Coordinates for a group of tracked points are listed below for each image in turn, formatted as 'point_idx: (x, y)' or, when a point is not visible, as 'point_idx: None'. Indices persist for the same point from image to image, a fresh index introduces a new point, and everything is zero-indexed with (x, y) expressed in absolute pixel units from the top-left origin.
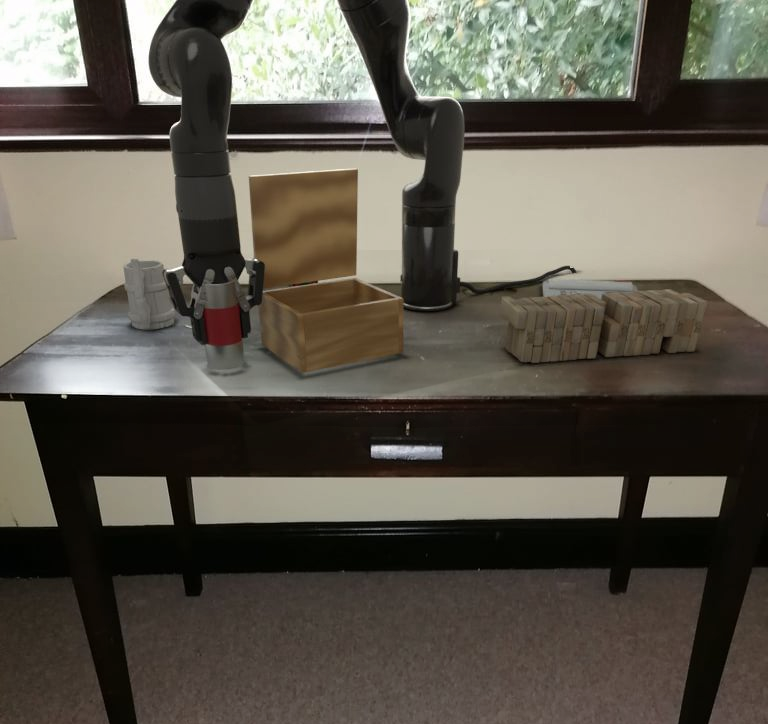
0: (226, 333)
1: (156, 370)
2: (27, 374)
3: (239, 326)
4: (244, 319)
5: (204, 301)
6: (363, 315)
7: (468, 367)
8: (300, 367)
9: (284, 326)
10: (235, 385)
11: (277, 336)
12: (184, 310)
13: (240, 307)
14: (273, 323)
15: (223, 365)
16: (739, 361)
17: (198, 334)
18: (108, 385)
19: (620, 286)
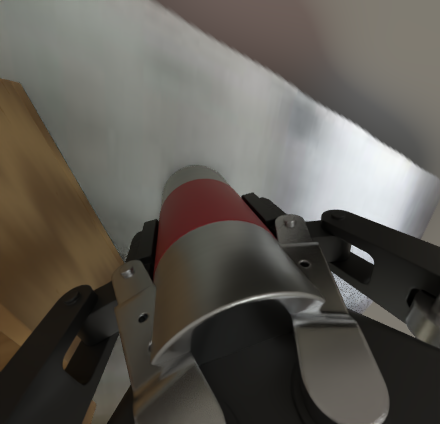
0: (201, 187)
1: (294, 213)
2: (410, 232)
3: (162, 218)
4: (144, 244)
5: (289, 243)
6: None
7: None
8: (5, 86)
9: (3, 204)
10: (188, 96)
11: (69, 233)
12: (341, 217)
13: (149, 274)
14: (67, 267)
15: (205, 168)
16: None
17: (266, 203)
18: (362, 171)
19: None
